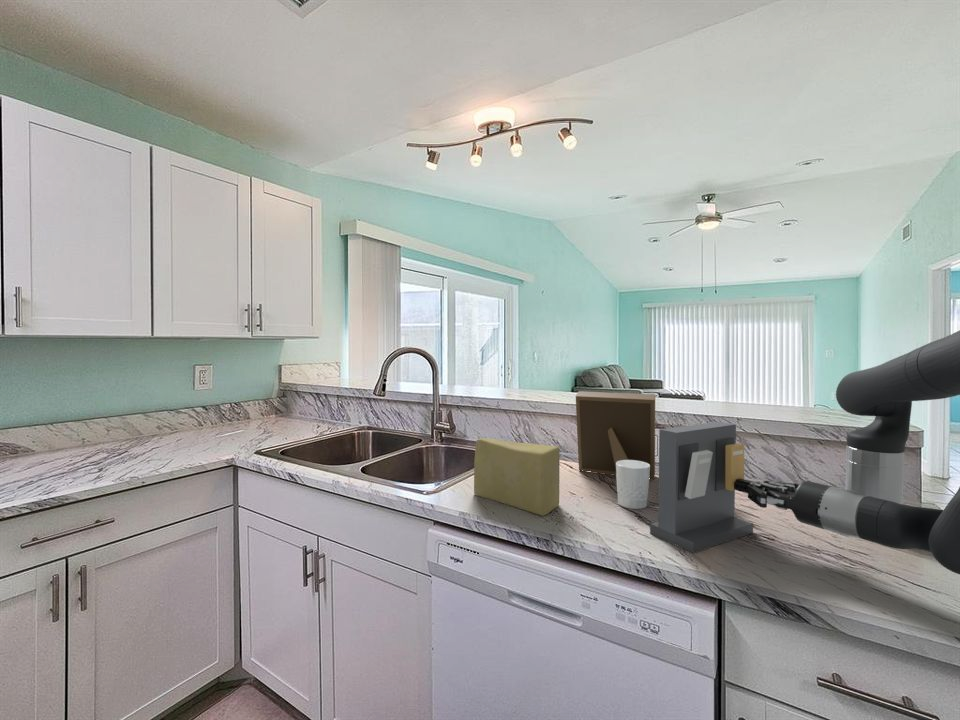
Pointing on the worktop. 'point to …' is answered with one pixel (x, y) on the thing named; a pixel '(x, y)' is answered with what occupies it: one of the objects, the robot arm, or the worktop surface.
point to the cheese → (518, 474)
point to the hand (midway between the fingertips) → (734, 483)
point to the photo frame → (615, 430)
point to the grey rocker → (698, 474)
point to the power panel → (701, 516)
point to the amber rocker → (734, 464)
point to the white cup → (632, 483)
